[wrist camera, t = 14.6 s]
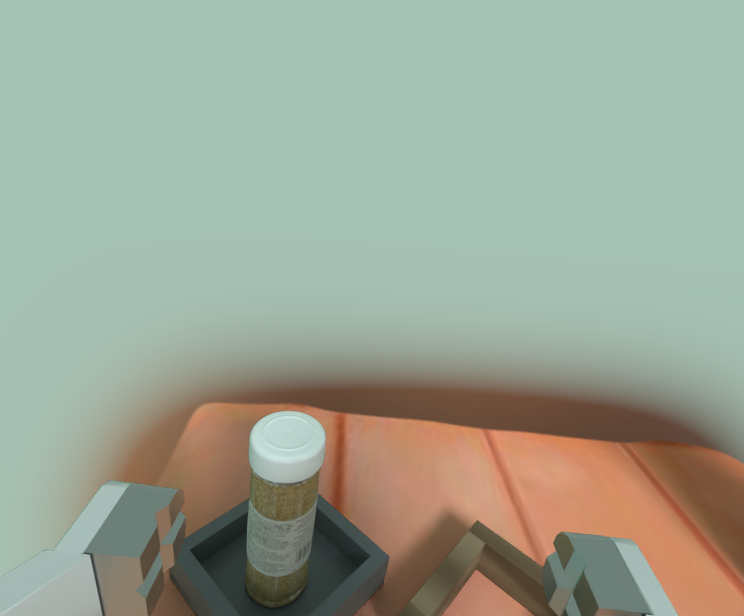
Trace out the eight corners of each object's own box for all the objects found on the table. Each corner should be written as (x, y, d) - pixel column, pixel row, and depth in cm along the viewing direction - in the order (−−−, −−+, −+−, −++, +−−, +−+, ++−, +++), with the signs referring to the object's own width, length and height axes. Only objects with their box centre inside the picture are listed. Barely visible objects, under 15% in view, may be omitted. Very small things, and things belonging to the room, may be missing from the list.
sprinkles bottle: (278, 539, 35) (290, 398, 29) (321, 577, 32) (342, 432, 27) (229, 581, 31) (232, 430, 26) (273, 627, 29) (286, 471, 23)
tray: (290, 496, 40) (292, 471, 38) (383, 583, 33) (389, 556, 32) (169, 577, 32) (168, 549, 30) (263, 711, 25) (265, 682, 24)
